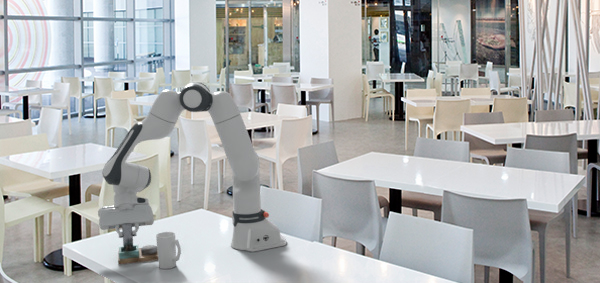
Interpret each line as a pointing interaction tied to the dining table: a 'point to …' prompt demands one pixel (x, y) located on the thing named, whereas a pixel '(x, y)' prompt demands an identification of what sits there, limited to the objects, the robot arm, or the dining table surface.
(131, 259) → the nut block
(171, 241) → the mug
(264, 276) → the dining table surface
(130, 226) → the pin
